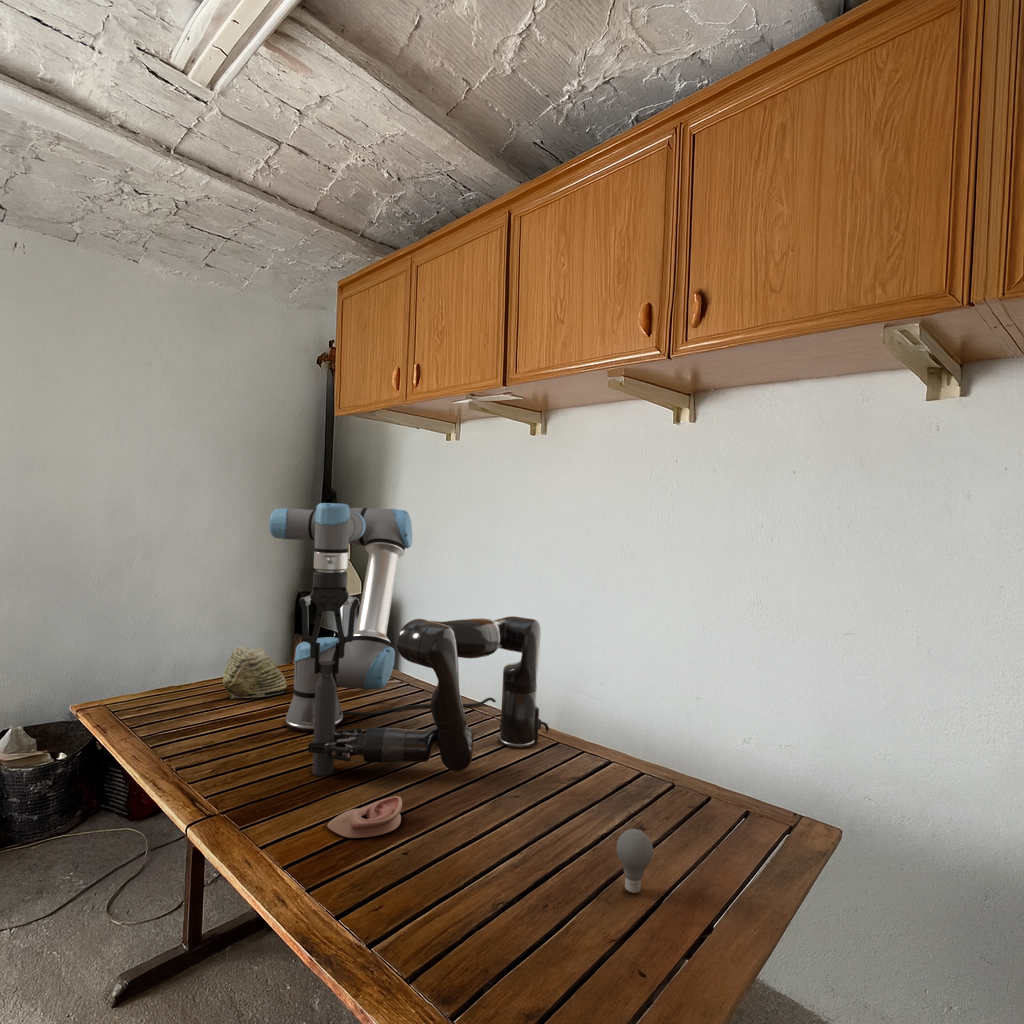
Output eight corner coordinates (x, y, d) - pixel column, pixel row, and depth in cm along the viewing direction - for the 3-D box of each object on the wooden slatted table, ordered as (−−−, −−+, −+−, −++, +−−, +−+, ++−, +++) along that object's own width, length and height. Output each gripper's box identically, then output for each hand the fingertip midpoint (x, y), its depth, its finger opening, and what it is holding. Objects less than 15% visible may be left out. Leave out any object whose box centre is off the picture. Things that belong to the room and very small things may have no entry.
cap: (321, 674, 143) (321, 665, 143) (316, 670, 146) (316, 661, 146) (337, 672, 145) (337, 663, 145) (332, 668, 148) (332, 660, 148)
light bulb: (610, 879, 108) (613, 822, 108) (644, 879, 109) (647, 822, 109) (619, 902, 102) (622, 840, 102) (655, 901, 103) (658, 840, 103)
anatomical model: (320, 812, 119) (347, 786, 130) (319, 833, 119) (347, 805, 130) (386, 822, 116) (408, 795, 127) (385, 844, 116) (408, 814, 128)
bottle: (336, 768, 148) (340, 663, 148) (329, 776, 143) (333, 668, 143) (316, 766, 148) (320, 662, 148) (309, 775, 144) (313, 667, 143)
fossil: (218, 695, 195) (220, 647, 195) (278, 685, 208) (279, 640, 207) (228, 703, 189) (230, 653, 188) (289, 692, 201) (290, 645, 201)
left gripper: (289, 571, 140) (285, 677, 140) (367, 573, 143) (363, 676, 144) (294, 567, 147) (290, 668, 147) (368, 569, 150) (364, 667, 151)
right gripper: (391, 718, 153) (320, 716, 153) (381, 740, 139) (303, 738, 138) (390, 748, 154) (319, 746, 153) (380, 774, 139) (302, 772, 139)
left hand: (326, 671), depth 145 cm, fingers closed on cap, 4 cm apart
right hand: (312, 742), depth 146 cm, fingers closed on bottle, 4 cm apart
